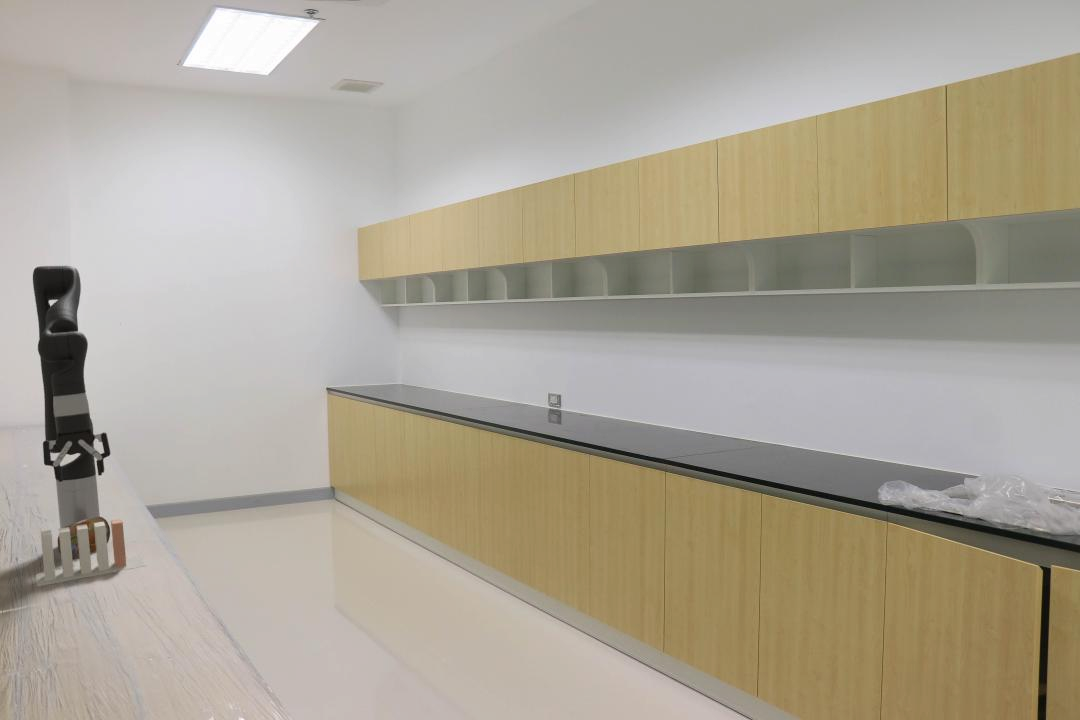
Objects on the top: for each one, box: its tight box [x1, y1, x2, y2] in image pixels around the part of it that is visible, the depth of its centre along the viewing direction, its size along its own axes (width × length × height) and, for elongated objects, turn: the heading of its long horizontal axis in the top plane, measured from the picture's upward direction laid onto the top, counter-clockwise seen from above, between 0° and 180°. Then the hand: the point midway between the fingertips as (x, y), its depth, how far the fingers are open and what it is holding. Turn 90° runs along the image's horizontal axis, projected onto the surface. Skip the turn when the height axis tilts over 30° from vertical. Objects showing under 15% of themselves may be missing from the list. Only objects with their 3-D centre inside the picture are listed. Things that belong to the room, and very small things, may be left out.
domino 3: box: [76, 524, 92, 574], centre depth 186 cm, size 5×2×10 cm, turn 32°
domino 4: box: [94, 522, 109, 571], centre depth 188 cm, size 5×2×10 cm, turn 32°
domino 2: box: [58, 527, 74, 577], centre depth 185 cm, size 5×2×10 cm, turn 32°
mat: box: [36, 554, 146, 587], centre depth 187 cm, size 12×21×1 cm, turn 122°
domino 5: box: [110, 518, 127, 567], centre depth 190 cm, size 5×2×10 cm, turn 32°
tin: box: [57, 516, 111, 559], centre depth 204 cm, size 15×3×8 cm, turn 168°
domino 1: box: [40, 529, 56, 581], centre depth 183 cm, size 5×2×10 cm, turn 32°
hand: (80, 478), depth 203 cm, fingers open, 8 cm apart
